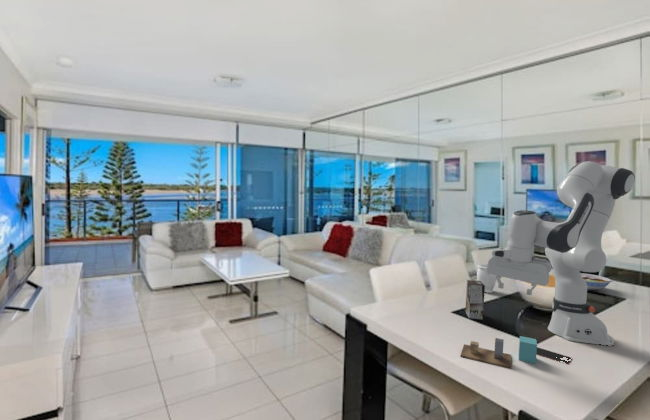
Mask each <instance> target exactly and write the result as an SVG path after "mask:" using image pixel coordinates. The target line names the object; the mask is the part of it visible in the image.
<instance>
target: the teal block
mask: <svg viewBox="0 0 650 420" xmlns="http://www.w3.org/2000/svg"><path fill="white" fill-rule="evenodd" d="M537 347H538V341H537V339H536V338H531V337H526V336H522V335H519V342H518V360H519V361H521V362H527V363H531V364H537V355H536V353H537Z"/></svg>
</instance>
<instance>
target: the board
mask: <svg viewBox="0 0 650 420" xmlns="http://www.w3.org/2000/svg"><path fill="white" fill-rule="evenodd" d="M479 346H480V345H479V342H478V341H473V340H470V345H469V344H465V343H464V344H463V347H462V349H461V353H460V358H465V359H469V360H474V361H478V362H481V363H486V364H490V365H494V366H498V367H503V368H507V369H510V370H511V369H512V354H509V353H505V352H503V358H502V360H499V359H495V358H494V352H495V350H491V349H487V348H484V347H483V348H482V347H479Z"/></svg>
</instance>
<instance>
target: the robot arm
mask: <svg viewBox="0 0 650 420" xmlns="http://www.w3.org/2000/svg"><path fill="white" fill-rule="evenodd" d="M635 181H636V175H635V173H634V172H633V171H632V170H630V169H628V168H624V167H616V166H611V165H602V164H601V165H600V164H599V163H597V162H594V161H588V160H587V161H583V162H581V163H578V164H575V165H574V166H573V167H571V168H570V170H569V171H568V173H567V174H566V175H565V176H564V177H563V179H561V181H560V182H559V184H558V185H557V188H556V193H557V198H558V199H559V201H561V203H563V204H564V205H565V206H567V207H570V208H572V209H571V212H570V214H569V216H568V217H567V218H566V220H565V221H562V222H554V221H546V220H543V219H541V218H540V217H538V215H537V212H535V211H533V210H527V209H526V210H523V209H521V210H517V211H514V212H513V213H512V214H511V216H510V221H509V224H508V229H507V236H508V240H507V242H506V247H500V248H495V249H493V250H492V251H491V256H490V257H489V258H488V262H487V264H486V265H487V272H488V274H492V275H496V282H497V283H498V286H497V288H498V289H504V287H505V286H504V284H505V283H504V282H502V281H501V279H502V277H503V278H506V279H510V280H511V279H512V280H516V281H520V282H525V283H529V284H530V286H531V288H527V289H526V295H528V296H532V294H533V291H534V289H535V288H536V287H537V285H538V286H544V287H545V286H547V285H549V283H550V272H551V271H552V270H553V276H554V296H553V298H552V304H551V305H552V306H551V307H552V314H551V319H550V321H549V324H548V326H547V330H548V331H549V332H551V333H552V334H554V335H556V336H559V337H562V338H564V339H566V341H570V342H576V343H585V344H593V345H599V344H601V345H600V346H606V345H608V346H607V347H613V346H615V340H614V337H612V336H611V335H610V334H609V333H608V328H607V326H606V324H605V323H604V321H602V320H601V319H600V318H598V317H597V315H595V314H594V312H595V311H596V309H595V307H594V306H593V305H591V303H589V302H587V297H588V290H587V283H586V282H585V280H584V279H583V278H582V276H581V274H580V273H581V272H583V273H598V272H600V271H602V270H603V269H604V268H605V266H606V264H607V255H606V254H605V252H604V250H603V248H602V247H603V246H602V237H603V234H604V231H605V229H606V226H607V224H608V222H609V220H610V219H611V217H612V213H613V212H614V208H615V206H616V205H615V204H616V200H619V199H620V198H621V197H623V196H625V195H627V194H628V193H629V192H630V191H631V190H632V189H633V187H634V185H635ZM535 246H537V247H541V248H544V254H545V256H546V258H540V257H536V256H534V251H535ZM612 345H613V346H612Z"/></svg>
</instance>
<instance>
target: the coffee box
mask: <svg viewBox="0 0 650 420" xmlns="http://www.w3.org/2000/svg"><path fill="white" fill-rule="evenodd" d="M465 289H466V292H465V293H466V295H465V313H466V315H467V318H469V319H473V320H483V319H484V307H485V306H484V304H485V285H484V284H483V283H482V282H481V281H477V280H474V279H473V280H471V279H466V288H465Z"/></svg>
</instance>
